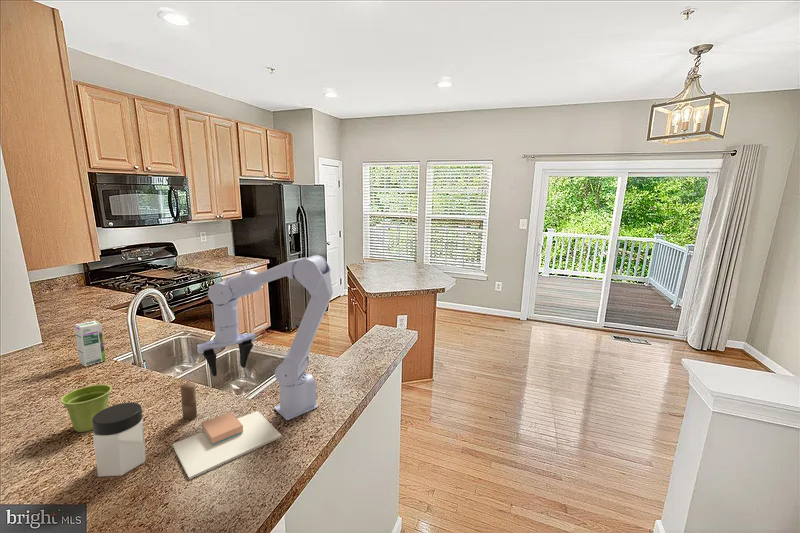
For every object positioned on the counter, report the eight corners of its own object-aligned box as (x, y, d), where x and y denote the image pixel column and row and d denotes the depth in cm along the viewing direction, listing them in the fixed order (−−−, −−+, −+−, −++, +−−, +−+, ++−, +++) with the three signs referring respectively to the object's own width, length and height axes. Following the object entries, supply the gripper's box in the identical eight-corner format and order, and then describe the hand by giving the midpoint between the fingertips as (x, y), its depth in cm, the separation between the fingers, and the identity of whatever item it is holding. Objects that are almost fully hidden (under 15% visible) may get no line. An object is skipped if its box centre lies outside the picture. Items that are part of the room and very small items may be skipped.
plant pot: (77, 417, 89) (73, 387, 88) (120, 411, 93) (117, 381, 91) (56, 440, 81) (51, 406, 79) (105, 432, 84) (101, 399, 83)
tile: (231, 411, 90) (242, 425, 84) (231, 418, 90) (243, 432, 85) (201, 422, 85) (211, 437, 79) (201, 429, 85) (212, 445, 80)
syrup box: (85, 367, 117) (80, 327, 115) (78, 363, 120) (73, 323, 118) (106, 361, 122) (101, 322, 120) (99, 357, 125) (95, 319, 123)
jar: (156, 449, 79) (152, 401, 77) (132, 476, 71) (127, 423, 69) (114, 450, 78) (109, 402, 76) (85, 478, 70) (78, 424, 68)
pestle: (194, 412, 93) (193, 381, 92) (198, 417, 91) (196, 385, 90) (181, 417, 91) (179, 385, 90) (184, 422, 89) (182, 390, 88)
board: (257, 412, 94) (257, 410, 94) (281, 437, 84) (281, 434, 84) (172, 446, 80) (172, 443, 80) (189, 480, 70) (188, 477, 70)
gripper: (247, 315, 102) (249, 358, 104) (192, 326, 91) (195, 373, 93) (257, 321, 97) (259, 366, 99) (200, 333, 86) (203, 383, 89)
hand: (228, 370), depth 96 cm, fingers open, 7 cm apart
